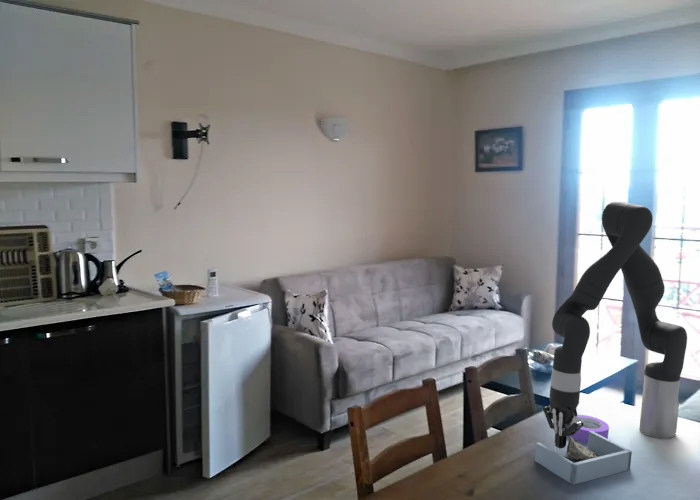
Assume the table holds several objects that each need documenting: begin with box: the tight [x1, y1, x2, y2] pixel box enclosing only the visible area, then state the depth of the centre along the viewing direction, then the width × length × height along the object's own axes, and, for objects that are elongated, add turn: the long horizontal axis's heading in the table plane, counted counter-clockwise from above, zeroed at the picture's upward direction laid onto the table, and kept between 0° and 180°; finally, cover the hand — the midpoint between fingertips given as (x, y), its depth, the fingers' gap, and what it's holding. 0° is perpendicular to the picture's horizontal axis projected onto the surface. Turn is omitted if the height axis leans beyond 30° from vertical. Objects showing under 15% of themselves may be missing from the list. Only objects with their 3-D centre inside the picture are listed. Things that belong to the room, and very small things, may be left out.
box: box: [534, 431, 633, 486], centre depth 153 cm, size 20×13×5 cm, turn 115°
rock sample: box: [566, 437, 598, 461], centre depth 157 cm, size 10×8×9 cm
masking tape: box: [569, 414, 610, 444], centre depth 172 cm, size 12×12×4 cm
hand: (559, 447), depth 160 cm, fingers closed
